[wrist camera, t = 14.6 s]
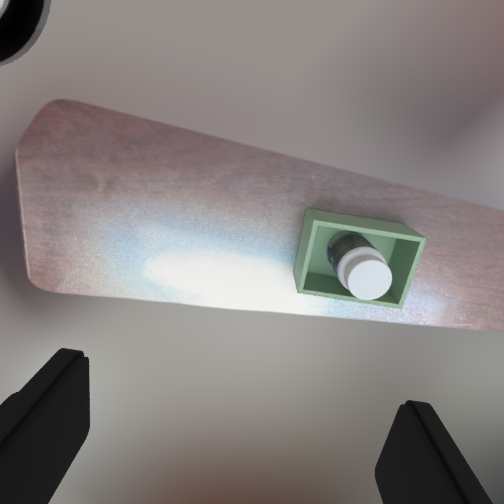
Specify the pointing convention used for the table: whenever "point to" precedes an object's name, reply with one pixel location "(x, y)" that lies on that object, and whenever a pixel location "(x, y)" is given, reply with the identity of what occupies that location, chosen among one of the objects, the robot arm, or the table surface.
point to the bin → (377, 233)
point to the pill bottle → (359, 265)
